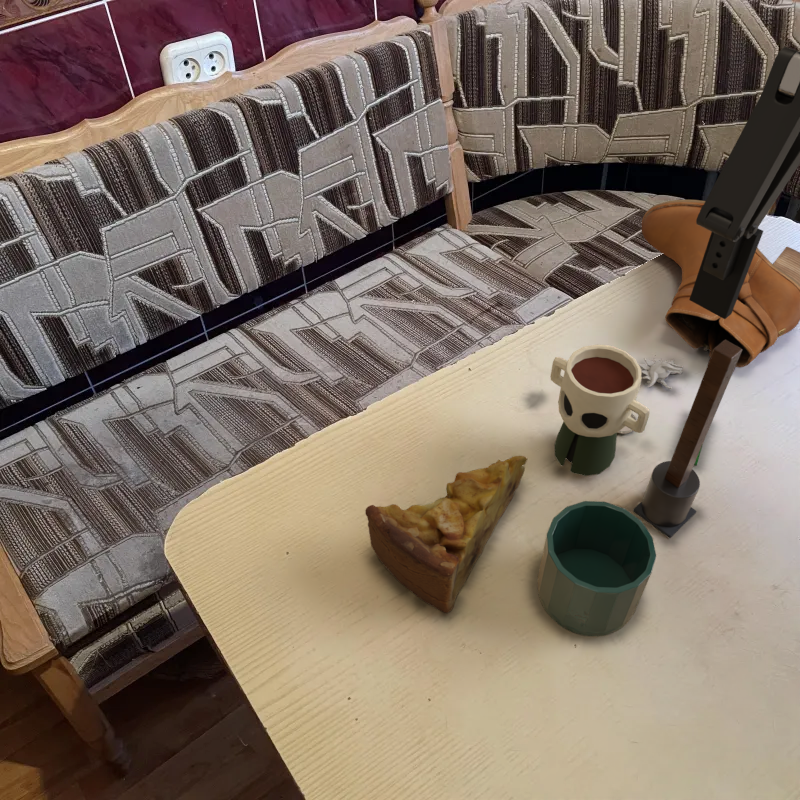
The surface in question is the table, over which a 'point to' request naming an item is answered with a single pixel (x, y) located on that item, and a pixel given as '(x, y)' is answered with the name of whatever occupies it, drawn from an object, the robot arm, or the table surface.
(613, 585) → the cup
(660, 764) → the table surface
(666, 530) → the mat
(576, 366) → the character mug
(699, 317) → the boot
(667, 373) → the stegosaurus
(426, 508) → the pie slice
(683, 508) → the brown post with base
